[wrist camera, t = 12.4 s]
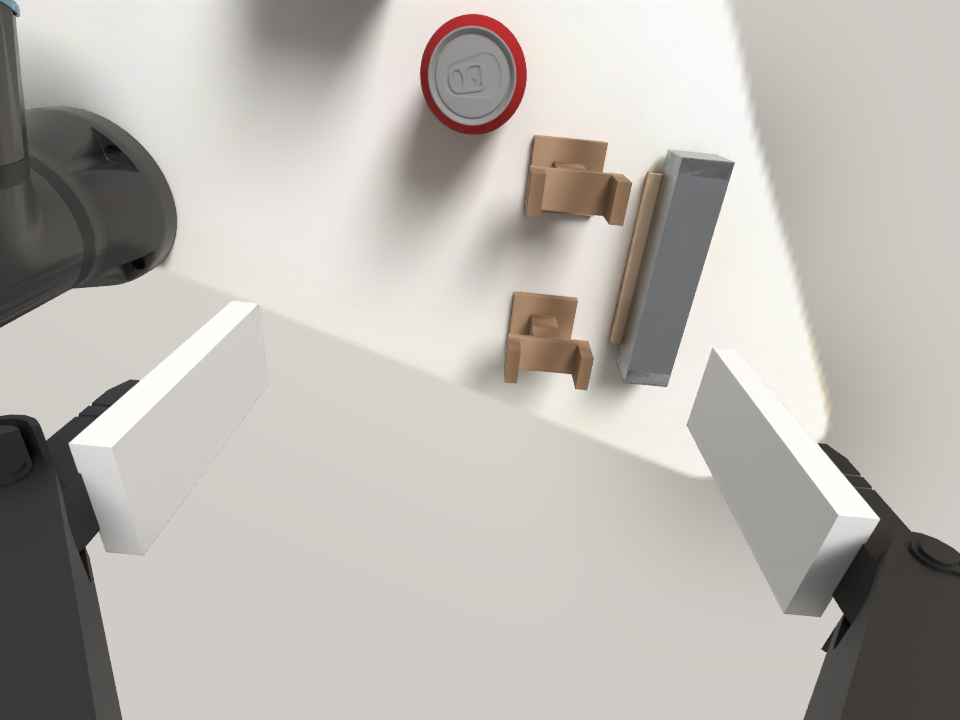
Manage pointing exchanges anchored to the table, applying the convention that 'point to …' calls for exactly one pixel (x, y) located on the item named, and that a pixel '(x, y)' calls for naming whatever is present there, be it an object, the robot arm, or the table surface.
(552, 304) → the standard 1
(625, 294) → the light wooden board
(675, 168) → the rail
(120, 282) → the robot arm
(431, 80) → the beverage can
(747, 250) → the table surface
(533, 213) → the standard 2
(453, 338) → the table surface
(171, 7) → the table surface
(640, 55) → the table surface
